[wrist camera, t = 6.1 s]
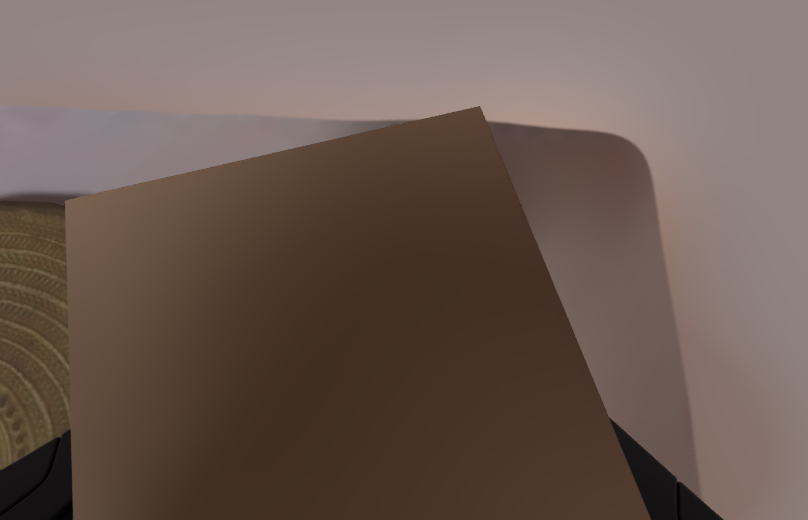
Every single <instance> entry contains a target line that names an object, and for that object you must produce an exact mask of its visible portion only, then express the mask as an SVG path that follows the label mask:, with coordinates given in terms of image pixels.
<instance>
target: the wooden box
mask: <svg viewBox="0 0 808 520" xmlns="http://www.w3.org/2000/svg"><path fill="white" fill-rule="evenodd" d="M65 224H66V262H67V301H68V339H69V378H70V416H71V455H72V493H73V520H651V518H650V516H649V513H648V511H647V509H646V506H645V504H644V501H643V499H642V496H641V494H640V492H639V489H638V487H637V484H636V482H635V480H634V477H633V475H632V472H631V470H630V467H629V465H628V463H627V460H626V458H625V455H624V453H623V451H622V448H621V446H620V443H619V441H618V438H617V436H616V434H615V431H614V429H613V426H612V424H611V422H610V419H609V417H608V414H607V412H606V409H605V407H604V405H603V402H602V400H601V397H600V395H599V393H598V390H597V388H596V385H595V383H594V380H593V378H592V376H591V373H590V371H589V368H588V366H587V364H586V361H585V359H584V356H583V354H582V351H581V349H580V347H579V344H578V342H577V339H576V337H575V335H574V332H573V330H572V327H571V325H570V323H569V320H568V318H567V315H566V313H565V310H564V308H563V306H562V303H561V301H560V298H559V296H558V294H557V291H556V289H555V286H554V284H553V281H552V279H551V277H550V274H549V272H548V269H547V267H546V265H545V262H544V260H543V257H542V255H541V252H540V250H539V248H538V245H537V243H536V240H535V238H534V236H533V233H532V231H531V228H530V226H529V223H528V221H527V219H526V216H525V214H524V211H523V209H522V207H521V204H520V202H519V199H518V197H517V194H516V192H515V190H514V187H513V185H512V182H511V180H510V178H509V175H508V173H507V170H506V168H505V165H504V163H503V161H502V158H501V156H500V153H499V151H498V149H497V146H496V144H495V141H494V139H493V137H492V134H491V132H490V129H489V127H488V124H487V122H486V120H485V117H484V115H483V112H482V110H481V108H480V106H479V107H474V108H470V109H466V110H462V111H457V112H452V113H448V114H444V115H439V116H435V117H430V118H426V119H422V120H417V121H413V122H408V123H404V124H400V125H395V126H391V127H386V128H382V129H378V130H373V131H369V132H364V133H360V134H355V135H351V136H347V137H342V138H338V139H333V140H329V141H325V142H320V143H316V144H311V145H307V146H303V147H298V148H294V149H289V150H285V151H281V152H276V153H272V154H267V155H263V156H259V157H254V158H250V159H245V160H241V161H237V162H232V163H228V164H223V165H219V166H215V167H210V168H206V169H201V170H197V171H192V172H188V173H184V174H179V175H175V176H170V177H166V178H162V179H157V180H153V181H148V182H144V183H140V184H135V185H131V186H126V187H122V188H118V189H113V190H109V191H104V192H100V193H96V194H91V195H87V196H82V197H78V198H74V199H69V200H65Z"/></svg>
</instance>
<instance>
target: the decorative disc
mask: <svg viewBox="0 0 808 520" xmlns="http://www.w3.org/2000/svg"><path fill="white" fill-rule="evenodd" d="M69 429H71V416H70V378H69V339H68V301H67V262H66V224H65V207H64V206H61V205H57V204H53V203H38V202H17V201H1V202H0V470H2V469H3V468H5V467H7V466H8V465H10V464H12V463H14V462H15V461H17V460H19V459H20V458H22V457H24V456H26V455H27V454H29V453H31V452H32V451H34V450H36V449H37V448H39V447H41V446H42V445H44V444H46V443H47V442H49V441H51V440H52V439H54V438H56V437H60V438H61V435H62V434H63V433H64V432H66V431H67V430H69Z"/></svg>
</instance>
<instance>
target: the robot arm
mask: <svg viewBox="0 0 808 520" xmlns="http://www.w3.org/2000/svg"><path fill="white" fill-rule="evenodd" d="M609 419H610V418H609ZM610 422H611V424H612V426H613V429H614V431H615V434H616V436H617V438H618V441H619V443H620V446H621V448H622V451H623V453H624V455H625V458H626V460H627V463H628V465H629V467H630V470H631V472H632V475H633V477H634V480H635V482H636V484H637V487H638V489H639V492H640V494H641V496H642V499H643V501H644V504H645V506H646V509H647V511H648V513H649V516H650V518H651V520H723V519H722V518H721V517H720V516H719V515H718V514H716V513H715V512H714V511H713V510H712V509H710V507H708V506H707V505H706V504H705V503H704V502H703V501H702V500H700V499H699V498H698V497H697V496H696V495H695V494H694V493H693V492H692V491H691V490H689V489H688V488H687V487H686V486H685V485H684V484H683V483H681V482H677V478H676V477H675V476H674V475H673V474H671V473H670V472H669V471H668V470H667V469H666V468H665V467H664V466H663V465H661V464H660V463H659V462H658V461H657V460H656V459H655V458H654V457H653V456H652V455H650V454H649V453H648V452H647V451H646V450H645V449H644V448H643V447H642V446H640V445H639V444H638V443H637V442H636V441H635V440H634V439H633V438H632V437H630V436H629V435H628V434H627V433H626V432H625V431H624V430H623V429H622V428H620V427H619V426H618V425H617V424H616V423H615V422H614V421H613V420H612V419H610ZM0 520H73V493H72V455H71V429H69V430H67V431H66V432H64V433H63V434H62V435H61V438H60V437H56V438H54V439H52V440H51V441H49V442H47V443H46V444H44V445H42V446H41V447H39V448H37V449H36V450H34V451H32V452H31V453H29V454H27V455H26V456H24V457H22V458H20V459H19V460H17V461H15V462H14V463H12V464H10V465H8V466H7V467H5V468H3V469H2V470H0Z"/></svg>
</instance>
